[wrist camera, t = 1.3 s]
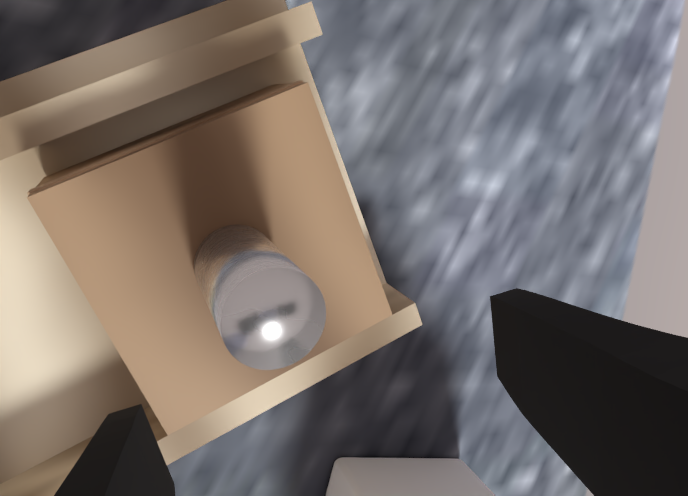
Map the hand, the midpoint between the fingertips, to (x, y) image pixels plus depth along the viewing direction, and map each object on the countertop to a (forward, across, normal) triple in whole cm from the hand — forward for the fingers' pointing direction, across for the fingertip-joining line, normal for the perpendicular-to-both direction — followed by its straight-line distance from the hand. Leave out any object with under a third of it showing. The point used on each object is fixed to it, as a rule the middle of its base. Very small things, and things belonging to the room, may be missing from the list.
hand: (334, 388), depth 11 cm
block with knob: (+10, +2, 0) cm, 11 cm away
